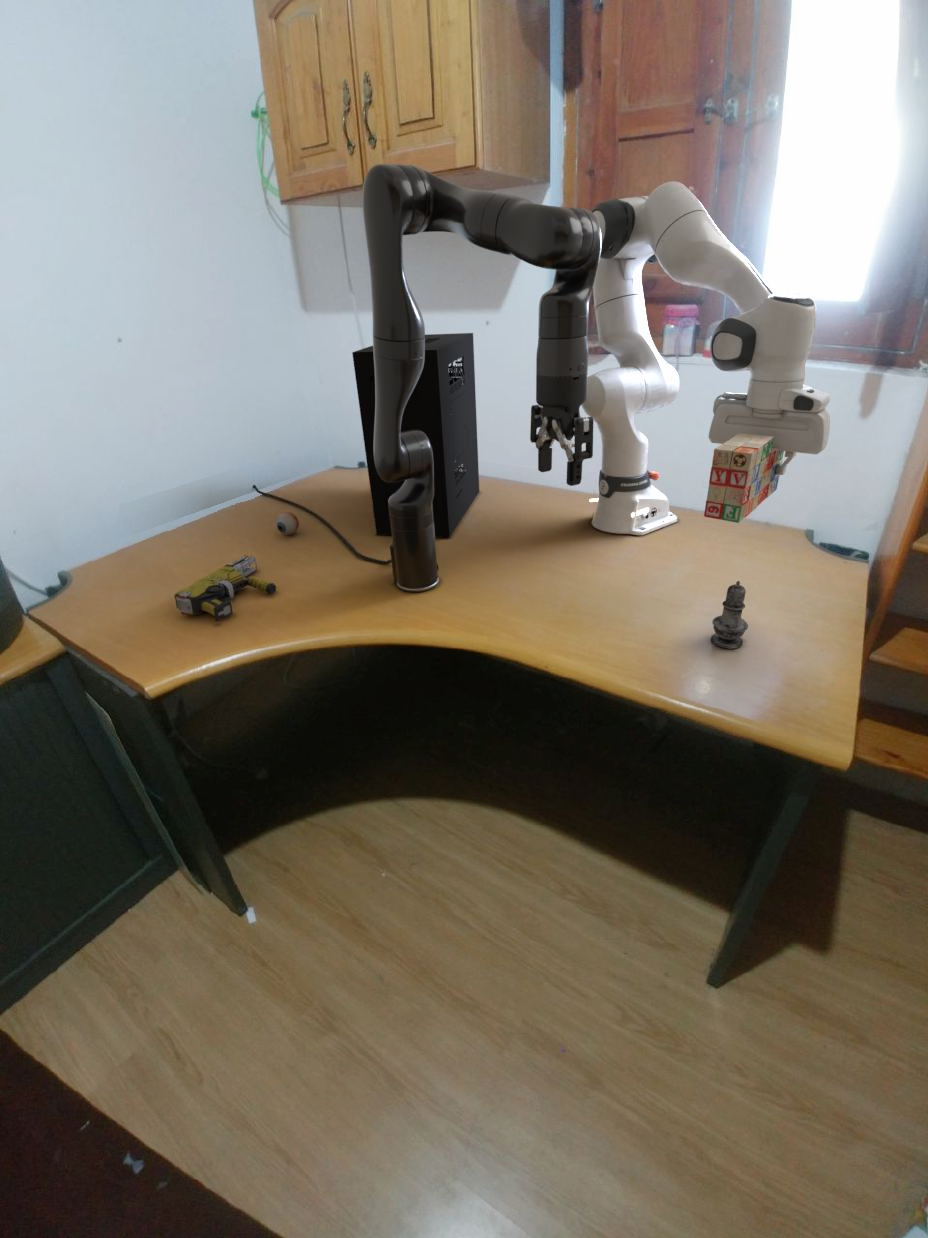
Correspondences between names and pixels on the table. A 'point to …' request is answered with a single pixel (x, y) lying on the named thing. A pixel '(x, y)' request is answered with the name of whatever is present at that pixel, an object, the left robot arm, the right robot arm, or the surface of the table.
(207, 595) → the toy gun
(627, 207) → the right robot arm
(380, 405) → the left robot arm
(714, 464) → the stack of blocks
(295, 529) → the eyeball
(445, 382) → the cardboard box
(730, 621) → the grey chess piece
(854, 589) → the table surface
